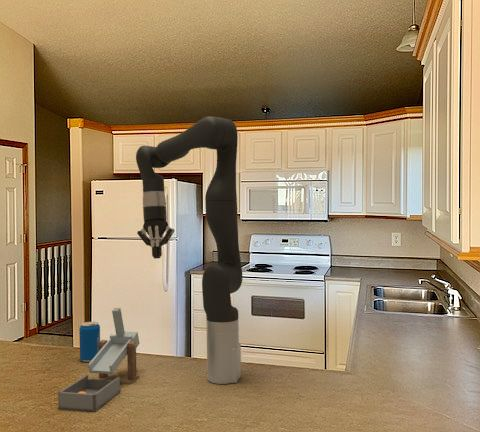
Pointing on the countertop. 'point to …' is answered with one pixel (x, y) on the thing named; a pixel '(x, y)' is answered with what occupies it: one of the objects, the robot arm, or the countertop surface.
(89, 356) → the beverage can
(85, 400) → the shallow gray tray
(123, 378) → the stand
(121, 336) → the chute
